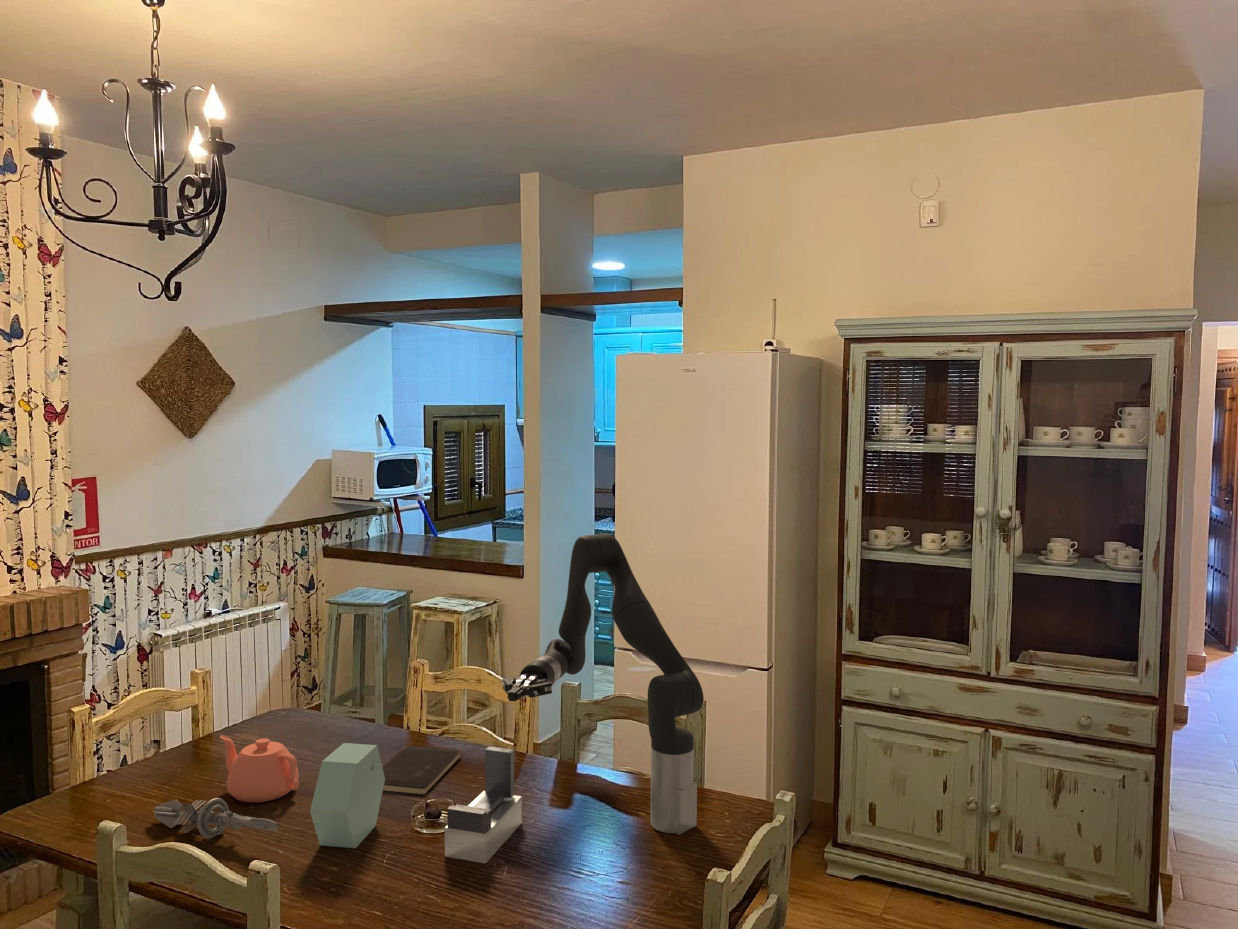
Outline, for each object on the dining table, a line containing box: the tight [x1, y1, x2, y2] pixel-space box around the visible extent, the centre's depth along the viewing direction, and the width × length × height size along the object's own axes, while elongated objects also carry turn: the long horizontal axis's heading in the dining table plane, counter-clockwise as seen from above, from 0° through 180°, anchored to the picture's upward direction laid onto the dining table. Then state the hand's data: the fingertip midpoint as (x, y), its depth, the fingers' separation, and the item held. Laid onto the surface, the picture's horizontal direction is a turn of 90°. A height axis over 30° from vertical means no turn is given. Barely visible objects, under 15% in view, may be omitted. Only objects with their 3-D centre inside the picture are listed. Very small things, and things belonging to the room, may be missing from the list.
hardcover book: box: [382, 745, 463, 795], centre depth 221 cm, size 16×23×2 cm
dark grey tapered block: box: [473, 746, 515, 811], centre depth 189 cm, size 11×6×10 cm, turn 163°
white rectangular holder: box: [444, 790, 523, 864], centre depth 187 cm, size 18×9×10 cm, turn 163°
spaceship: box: [152, 797, 280, 839], centre depth 187 cm, size 8×35×8 cm
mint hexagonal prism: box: [309, 742, 385, 849], centre depth 188 cm, size 17×8×21 cm
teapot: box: [219, 734, 300, 804], centre depth 209 cm, size 22×16×12 cm
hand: (511, 697), depth 199 cm, fingers closed
